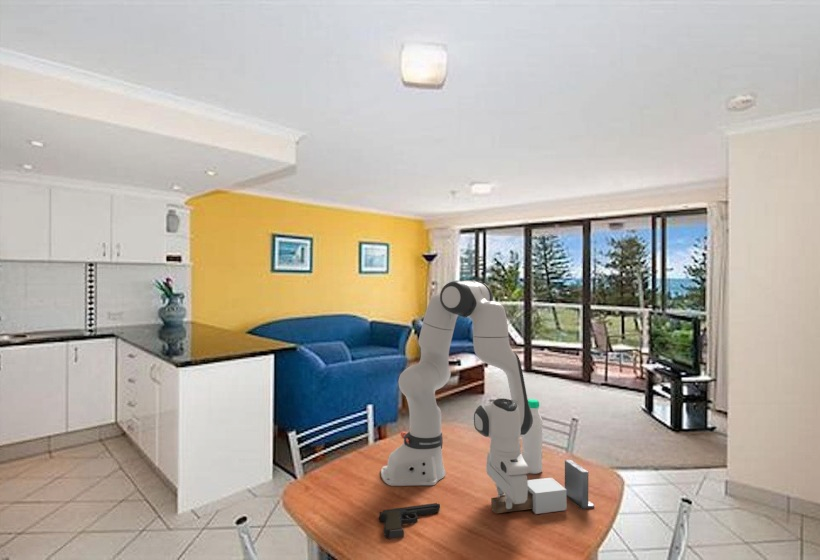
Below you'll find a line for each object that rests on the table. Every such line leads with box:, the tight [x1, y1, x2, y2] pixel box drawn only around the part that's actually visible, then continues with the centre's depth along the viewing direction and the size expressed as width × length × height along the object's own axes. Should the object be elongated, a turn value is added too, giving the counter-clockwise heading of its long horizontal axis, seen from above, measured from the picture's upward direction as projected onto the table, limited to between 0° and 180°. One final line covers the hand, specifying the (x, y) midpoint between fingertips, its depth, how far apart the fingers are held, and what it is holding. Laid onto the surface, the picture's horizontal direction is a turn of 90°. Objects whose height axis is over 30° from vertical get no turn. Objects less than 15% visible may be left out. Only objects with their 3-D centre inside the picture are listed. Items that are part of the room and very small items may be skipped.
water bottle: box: [521, 398, 544, 475], centre depth 155 cm, size 7×7×25 cm
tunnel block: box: [527, 477, 567, 515], centre depth 130 cm, size 10×8×6 cm
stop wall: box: [564, 459, 595, 511], centre depth 133 cm, size 4×9×11 cm, turn 14°
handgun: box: [378, 502, 441, 540], centre depth 121 cm, size 3×19×12 cm
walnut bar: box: [490, 493, 533, 514], centre depth 128 cm, size 14×3×3 cm, turn 103°
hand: (504, 503), depth 127 cm, fingers closed on walnut bar, 3 cm apart
